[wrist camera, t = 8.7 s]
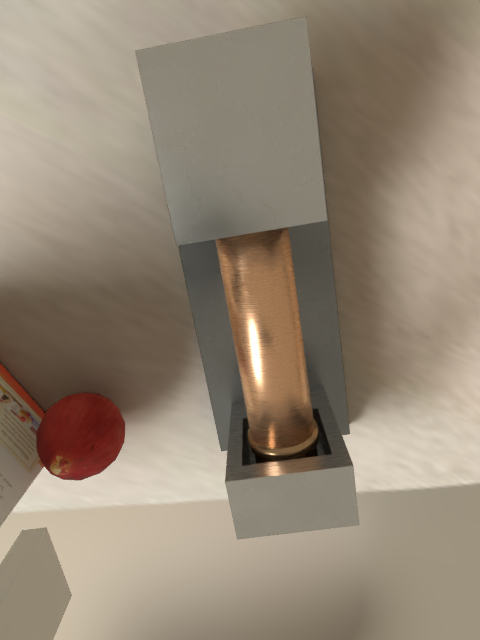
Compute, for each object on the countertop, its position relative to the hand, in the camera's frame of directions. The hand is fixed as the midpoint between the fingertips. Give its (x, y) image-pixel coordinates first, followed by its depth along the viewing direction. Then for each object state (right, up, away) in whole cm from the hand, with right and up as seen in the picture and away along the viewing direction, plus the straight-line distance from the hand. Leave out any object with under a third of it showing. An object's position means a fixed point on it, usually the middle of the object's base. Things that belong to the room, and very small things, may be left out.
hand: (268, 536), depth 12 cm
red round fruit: (-12, -1, +21) cm, 24 cm away
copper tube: (+1, +6, +14) cm, 15 cm away
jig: (+1, +9, +17) cm, 19 cm away
